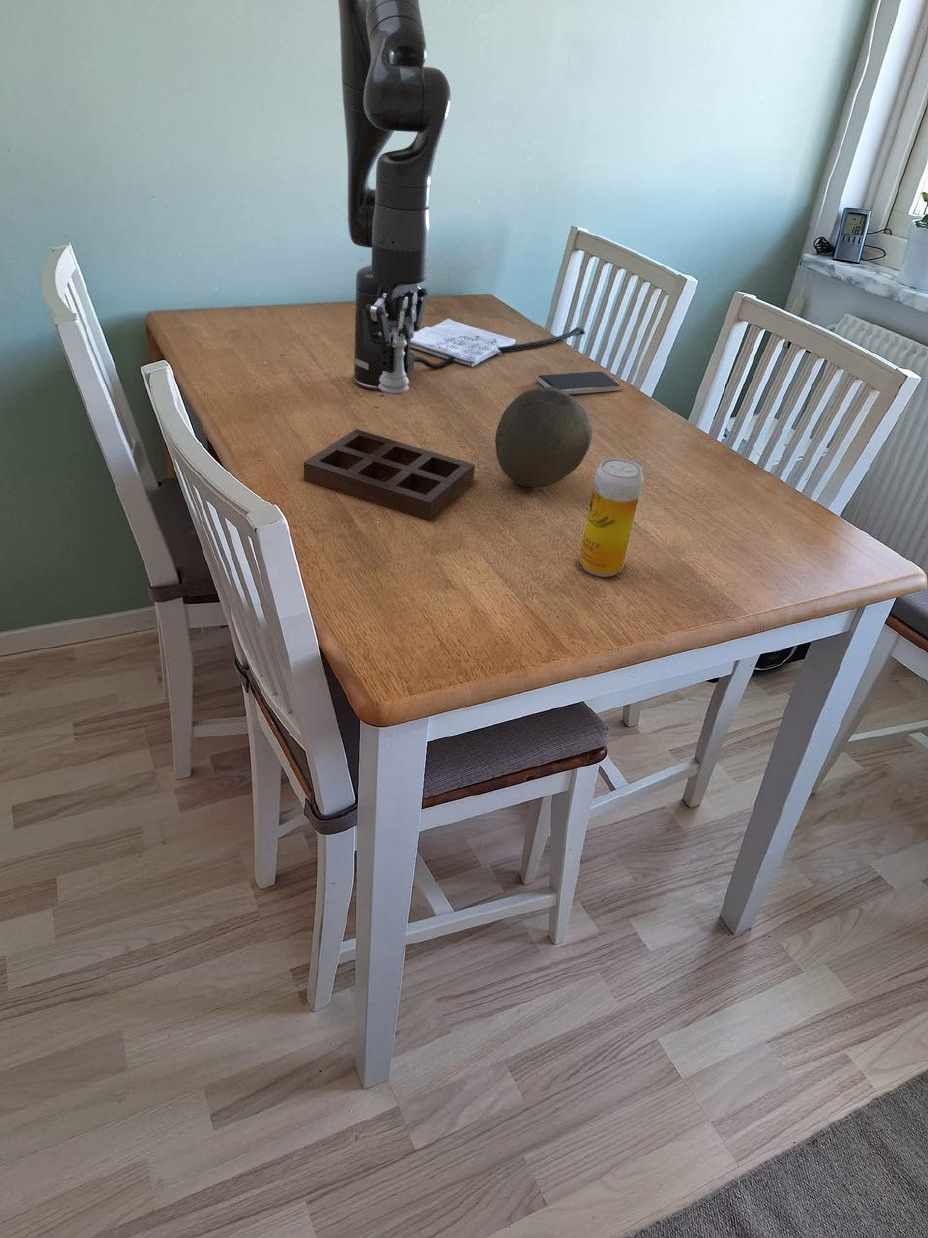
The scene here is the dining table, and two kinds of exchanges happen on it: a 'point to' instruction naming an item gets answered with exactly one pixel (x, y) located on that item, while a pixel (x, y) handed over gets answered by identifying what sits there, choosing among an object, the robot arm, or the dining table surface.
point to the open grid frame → (390, 473)
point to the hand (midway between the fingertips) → (394, 366)
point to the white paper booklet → (459, 342)
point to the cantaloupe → (542, 437)
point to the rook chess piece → (396, 373)
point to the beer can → (611, 516)
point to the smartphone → (580, 382)
